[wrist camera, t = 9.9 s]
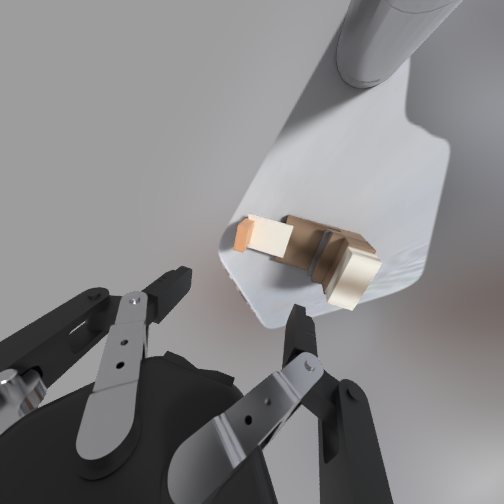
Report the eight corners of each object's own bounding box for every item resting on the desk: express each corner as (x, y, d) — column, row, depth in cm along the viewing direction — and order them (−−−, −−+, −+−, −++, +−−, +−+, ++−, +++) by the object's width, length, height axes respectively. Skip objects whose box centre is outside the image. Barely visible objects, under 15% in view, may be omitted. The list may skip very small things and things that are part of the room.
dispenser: (288, 214, 36) (284, 230, 26) (360, 234, 34) (384, 259, 25) (274, 257, 40) (267, 285, 31) (338, 277, 39) (351, 313, 29)
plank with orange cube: (247, 212, 36) (239, 219, 31) (293, 226, 35) (292, 234, 30) (240, 244, 39) (232, 254, 35) (283, 257, 38) (280, 269, 33)
